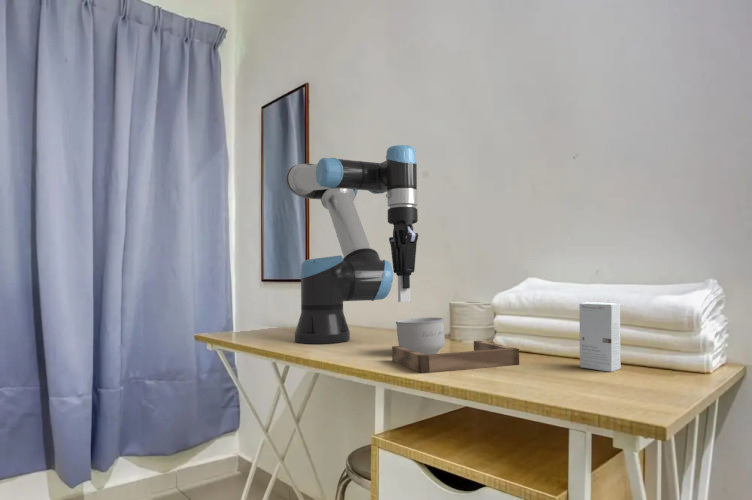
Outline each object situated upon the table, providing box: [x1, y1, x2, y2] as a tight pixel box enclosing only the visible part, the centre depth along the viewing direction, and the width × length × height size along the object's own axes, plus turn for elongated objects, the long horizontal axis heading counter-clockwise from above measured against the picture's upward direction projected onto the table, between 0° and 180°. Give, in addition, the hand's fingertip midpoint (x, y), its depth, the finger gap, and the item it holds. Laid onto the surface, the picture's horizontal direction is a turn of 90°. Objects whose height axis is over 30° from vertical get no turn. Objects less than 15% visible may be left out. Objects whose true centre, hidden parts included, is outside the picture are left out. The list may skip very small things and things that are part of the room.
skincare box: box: [579, 301, 622, 372], centre depth 90 cm, size 6×4×12 cm
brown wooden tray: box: [391, 340, 520, 374], centre depth 98 cm, size 14×21×3 cm, turn 111°
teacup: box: [395, 316, 445, 355], centre depth 111 cm, size 14×11×8 cm
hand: (404, 301), depth 121 cm, fingers closed
